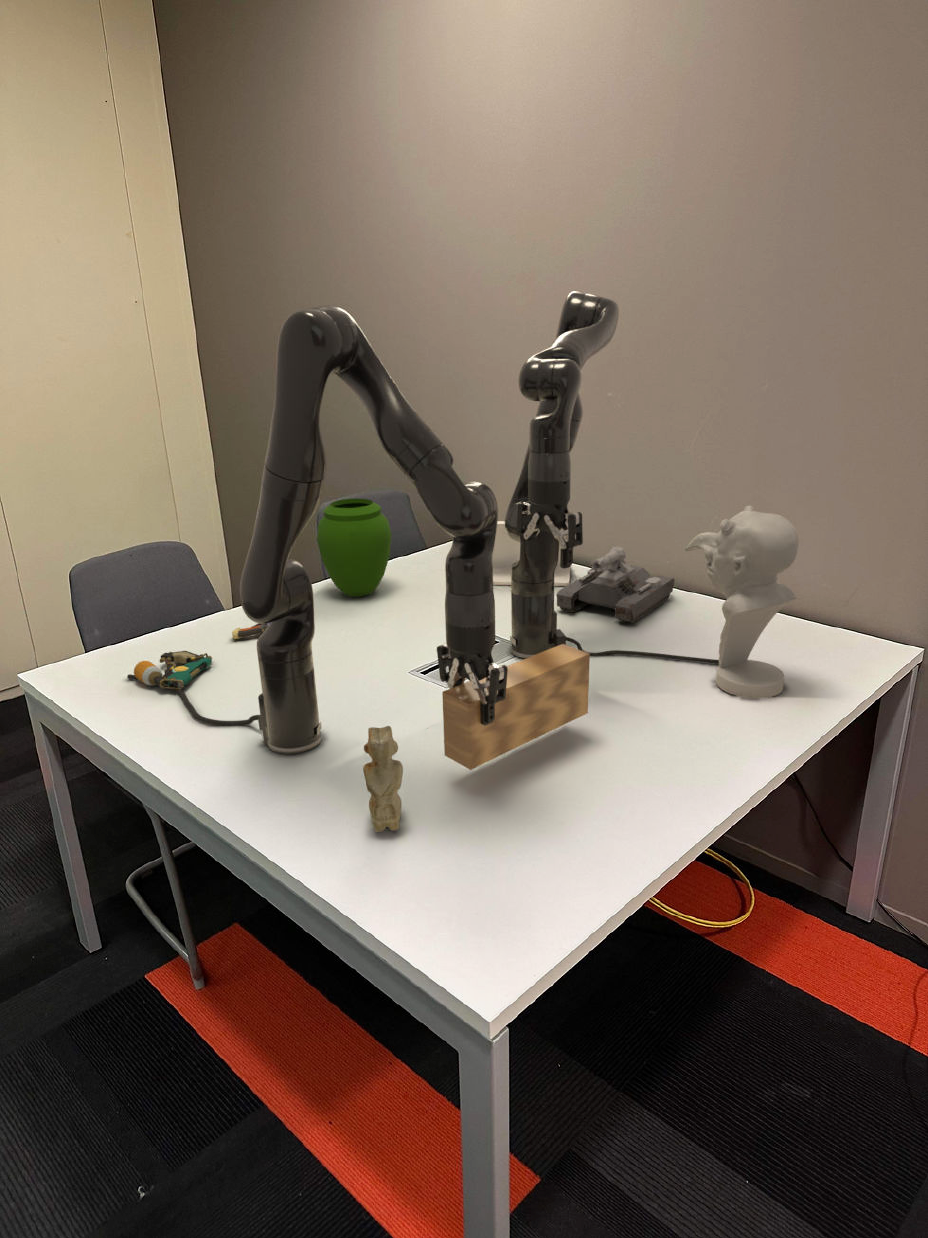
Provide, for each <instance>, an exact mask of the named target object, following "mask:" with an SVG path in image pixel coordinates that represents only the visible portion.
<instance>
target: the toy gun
mask: <svg viewBox="0 0 928 1238" xmlns="http://www.w3.org/2000/svg"><path fill="white" fill-rule="evenodd" d="M269 624H270V623H265V624H260V623H256V624H254V625H252V626H250V627H245V628H241V627H237V628H235V629H233V630H232V632H231V635H232V638H233V640H238V639H243V638H247V637H250V636H255V635H259V634H262V633H263V632H264V631H265V630H266V629H267V627H268V626H269Z"/></svg>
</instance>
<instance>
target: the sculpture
mask: <svg viewBox="0 0 928 1238" xmlns="http://www.w3.org/2000/svg"><path fill="white" fill-rule="evenodd" d="M367 734H368V735H367V736H368V737H367V742H365V744H364V745H363V751H364V752H365V754H367V755H368V756H369V757H370V759H371V761H370V762H367V763H365V764H364V765H363V766H362V772H363V777H364V781H365V786H366V791H367V792H368V793H369V794H370V798H369V800H368V808H369V813H370V816H371V820H372V823H373V824H372V825H373V828H374V831H375V833H381V832H384V831H385V829H386V828H389V831H398V830H399V829H400V828H399V827H400V819H401V815H402V798H401V796H400V795H399V791H400V789H401V786H402V782H403V775H404V767H403V764H402V762H401V761H400V760H398V759H393V756H394V755H395V754H397V752H398V751H399V745H398V742H397V740H395V739H394V736H393V729H392V727H391V726H390V725H386V726H382V727H375V726H374V727H371V726H370V727H369V728H368V729H367Z"/></svg>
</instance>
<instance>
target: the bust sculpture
mask: <svg viewBox="0 0 928 1238" xmlns="http://www.w3.org/2000/svg"><path fill="white" fill-rule="evenodd" d="M719 528H720V529H719V531H718V532H713V531H705V532H701V533H699V534H697V535H695V536H694V537H693V538H692V539H691V541H690V542H689V543H688V544H687V545H686V546H685V547H684V551H685V552H692V551H696V550H702V551H703V553H704V557H705V559H706V560H707V561H708V562H707V563H706V564H705V570H706V573H707V576H708V577H709V580H710V581H711V583H712V586H714V588H715V589H717V591H719V592H720V593H721V594H722V595H723V596H724V597H726V600H725V601H724V602H723V604H722V606H721V611H722V615H723V617H724V619H725V622H724V625H723V627H722V631H721V633H720V642H719V645H718V646H719V647H718V660H719V664H718V666H717V668H716V675H715V684H716V685H717V687H718V688H720V690H722V691H723V692H726V693H728V694H731V695H733V696H737V697H740V698H741V697H742V698H748V699H766V698H771V697H775V696H778V695H779V694H781V693H782V692H783V690H784V686H785V685H784V684H785V673H784V672H783V670H782V669H780V668H779V667H777V666H775V665H773V664H771V663H768V662H765V661H760V660H754V659H749V657H750V655H751V652H752V650H753V649H754V647H755V645H756V643H757V642H758V640H759V638H760V637H761V634H762V633H763V632H764V631H765V628H766V627H768V624H769V623H770V622H771V620H772V619H773V618H774V617H775V616H776V615H777V614H778V613H779V612H780V611H781V610H782V609H783V608H784V607H786V606H787V605H788V604H790V603H791V602H792V601H795V600H797V599H798V597H797V595H796V594H795V592H794V591H793V590H792V588H791V587H789V586H788V585H786V584H782V583H779V582H778V581H777V580H778V576H777V575H779V574H781V573H783V572H785V571H786V570H788V569H789V568H790V567H791V566H792V565H793V563H794V562H795V560H796V558H797V556H798V551H799V535H798V532H797V530H796V527H795V525H793V524H792V522H791V521H790V520H789V519H787V518H786V517H784V516H783V515H781V514H777V513H770V512H760V511H756V510H755V508H754V506H753V505H746V506H745V507H744V509H743V510H742V511H740V512H739V513H737V514H735V515H733V516H732V517H731V518H730V519H728V518H725V519H723V520H721V521H720V525H719Z"/></svg>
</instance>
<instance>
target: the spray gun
mask: <svg viewBox="0 0 928 1238" xmlns="http://www.w3.org/2000/svg"><path fill="white" fill-rule="evenodd" d="M212 660H213V657H212V656H211V655H208V653H207V652H205V653H201V654H197V653H194V652H192V651H191V652H190V651H188V650H180V651H169V652H164V653H162V654H161V655H160V658H159V660H158V662H159V663H161V664H163V663H165V664H166V668H165V670H163V672H164V674H163V673H162V669H160V668H159V666H157V665H156V664H154V663H152V662H151V661H149V660H141V661H139V662H138V663H136V665H135V666H134V668H133V675H135V677H136V678H137V679H139V680H138V681H140V682H142V683H143V684H145V685H147V686H155V685H157V686H158V687H160V688H161V689H171V690H174V689H181V690H182V689H184V687H185V686H186V685H188V684H189V683H190V682H191V681H192V679H193V678H195V677H196V676H197V675H198V674H200V673H201V672H202V671H203V670H206V669H208V668H209V667H210V666H211V665H212V662H213V661H212ZM178 663H179V664H181V665H179V666H176V665H177V664H178ZM166 684H167V685H168V686H167V685H166ZM176 686H177V687H176Z"/></svg>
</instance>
